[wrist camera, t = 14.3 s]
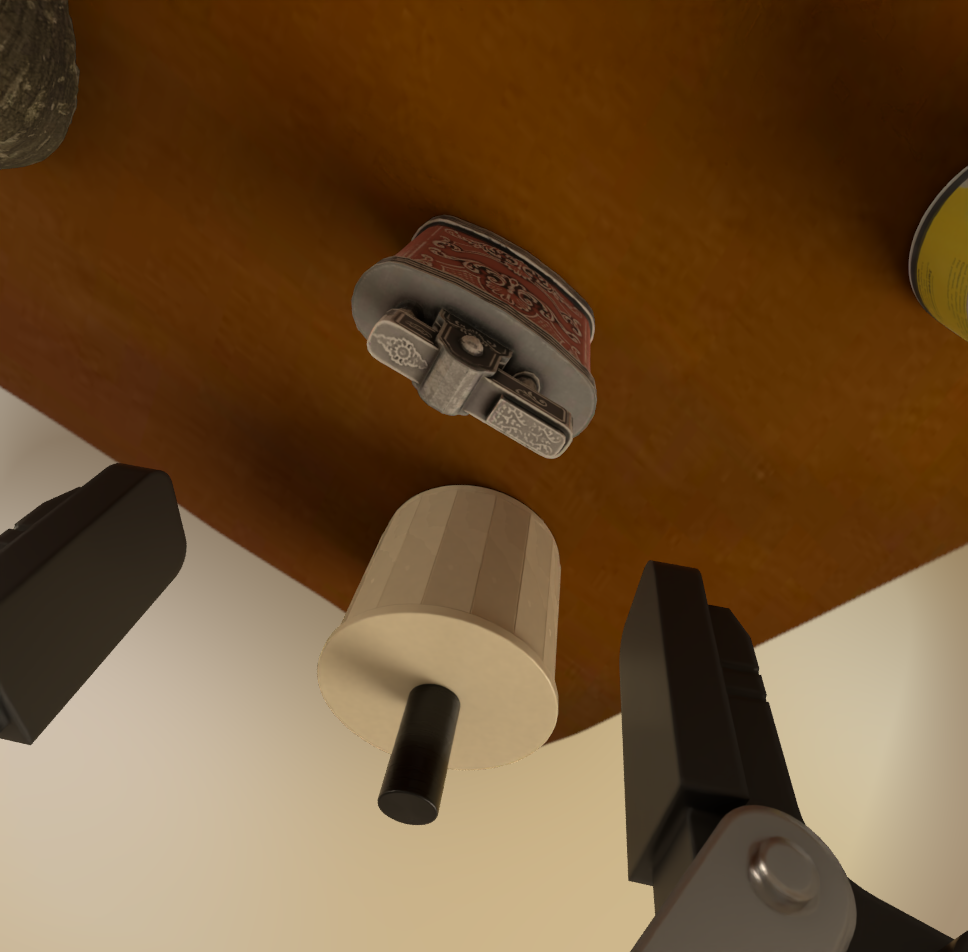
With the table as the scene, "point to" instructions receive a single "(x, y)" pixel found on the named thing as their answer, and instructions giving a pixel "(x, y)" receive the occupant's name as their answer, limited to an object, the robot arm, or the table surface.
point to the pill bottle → (943, 257)
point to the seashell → (35, 79)
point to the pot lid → (435, 697)
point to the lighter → (483, 332)
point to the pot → (469, 563)
